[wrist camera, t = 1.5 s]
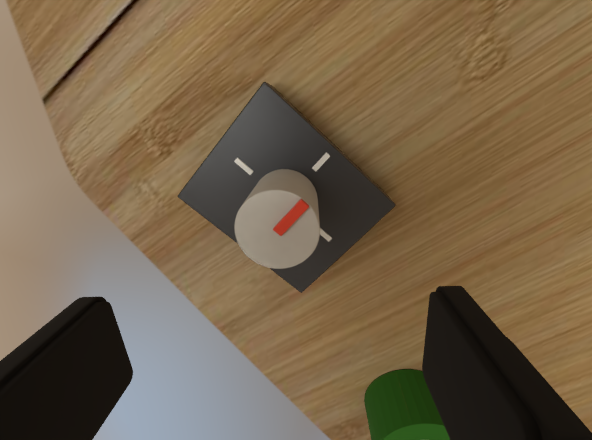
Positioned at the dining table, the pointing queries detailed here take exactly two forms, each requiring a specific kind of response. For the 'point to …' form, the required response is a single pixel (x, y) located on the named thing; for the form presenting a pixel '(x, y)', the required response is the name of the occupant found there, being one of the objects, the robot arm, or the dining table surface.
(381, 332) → the dining table surface
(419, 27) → the dining table surface
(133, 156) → the dining table surface
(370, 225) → the plate
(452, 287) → the robot arm
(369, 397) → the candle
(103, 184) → the dining table surface
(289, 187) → the timer knob
